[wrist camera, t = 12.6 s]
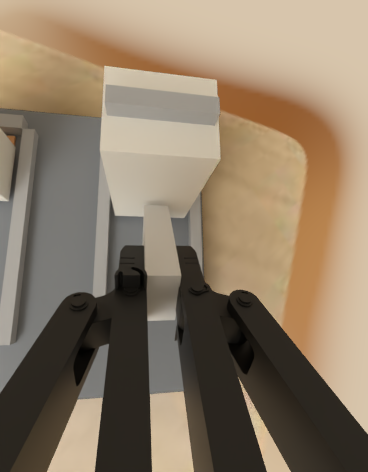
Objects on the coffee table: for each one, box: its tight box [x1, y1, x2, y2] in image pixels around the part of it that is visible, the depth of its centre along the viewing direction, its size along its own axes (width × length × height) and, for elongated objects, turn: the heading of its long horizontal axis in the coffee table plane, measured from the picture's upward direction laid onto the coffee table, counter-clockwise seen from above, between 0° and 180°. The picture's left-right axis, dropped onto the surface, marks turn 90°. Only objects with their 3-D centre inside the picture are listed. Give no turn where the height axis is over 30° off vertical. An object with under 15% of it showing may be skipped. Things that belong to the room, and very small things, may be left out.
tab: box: [100, 66, 221, 218], centre depth 16 cm, size 4×5×10 cm
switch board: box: [0, 108, 204, 399], centre depth 19 cm, size 20×20×2 cm
